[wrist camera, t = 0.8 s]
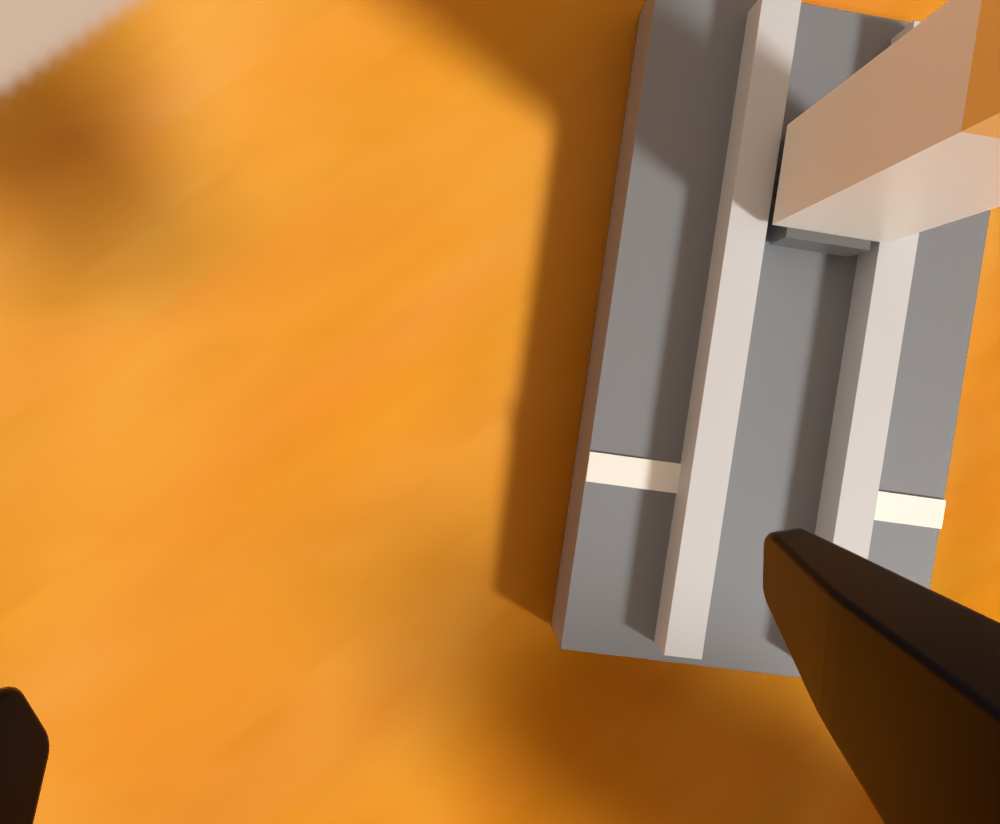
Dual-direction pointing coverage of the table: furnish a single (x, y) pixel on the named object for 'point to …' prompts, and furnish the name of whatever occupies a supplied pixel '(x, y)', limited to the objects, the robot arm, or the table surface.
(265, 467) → the table surface
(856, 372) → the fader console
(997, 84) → the fader tab
